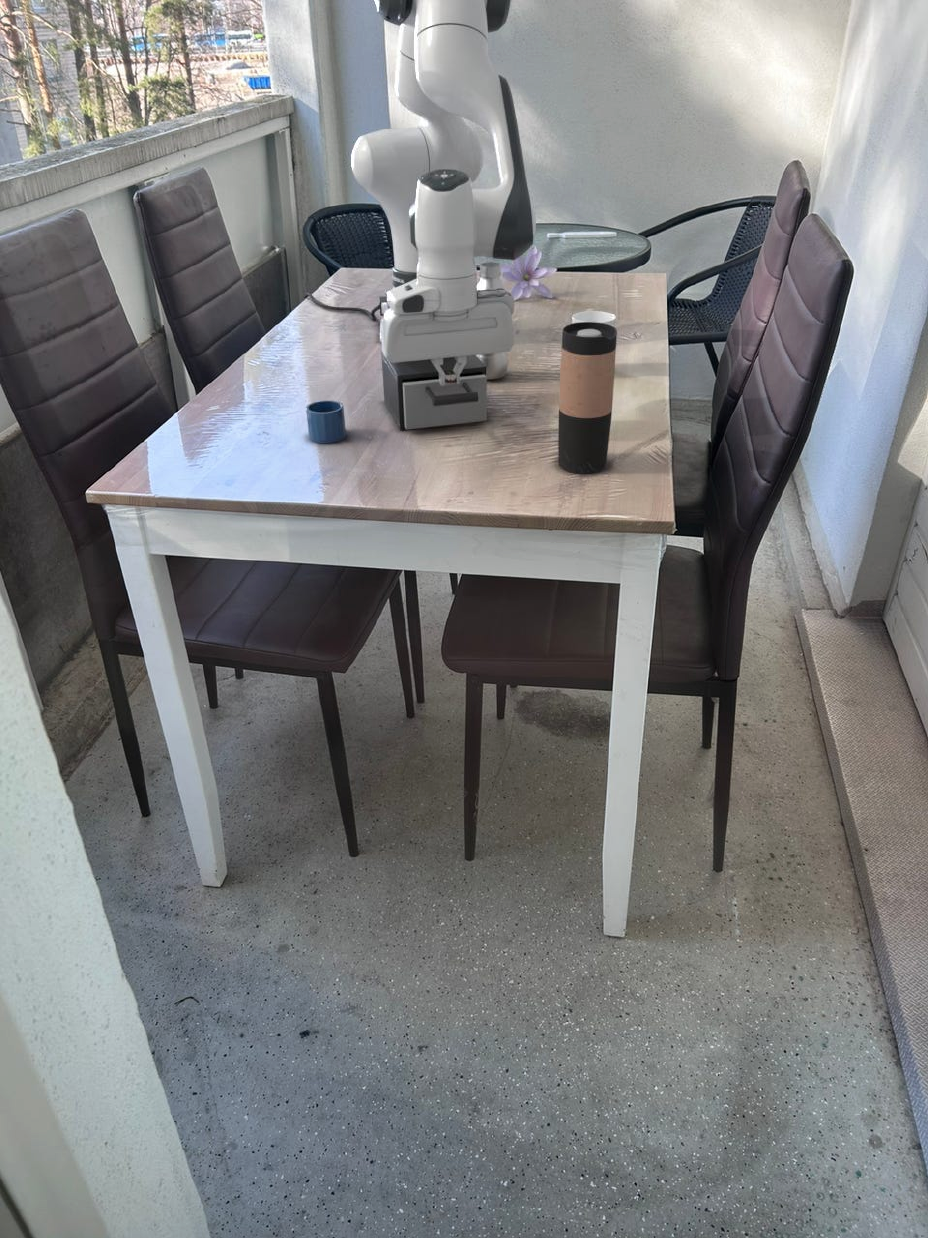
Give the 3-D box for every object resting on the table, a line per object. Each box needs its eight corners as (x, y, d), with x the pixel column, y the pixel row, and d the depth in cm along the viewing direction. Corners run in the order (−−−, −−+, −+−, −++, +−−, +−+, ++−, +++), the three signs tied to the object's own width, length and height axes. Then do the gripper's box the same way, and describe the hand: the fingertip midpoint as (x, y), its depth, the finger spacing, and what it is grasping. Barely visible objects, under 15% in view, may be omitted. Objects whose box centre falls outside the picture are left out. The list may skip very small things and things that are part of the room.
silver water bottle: (512, 373, 177) (513, 261, 166) (501, 384, 172) (502, 269, 161) (479, 370, 179) (478, 259, 168) (467, 381, 174) (466, 267, 163)
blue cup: (307, 432, 154) (304, 402, 151) (342, 428, 155) (340, 398, 152) (311, 445, 149) (308, 415, 147) (348, 441, 150) (345, 411, 148)
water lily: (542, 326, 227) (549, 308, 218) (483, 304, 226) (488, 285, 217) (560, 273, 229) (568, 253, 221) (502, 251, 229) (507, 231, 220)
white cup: (610, 378, 174) (614, 323, 168) (567, 376, 175) (570, 321, 170) (613, 365, 180) (617, 311, 175) (572, 363, 182) (574, 309, 176)
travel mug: (552, 455, 145) (557, 322, 134) (602, 452, 145) (611, 320, 134) (561, 476, 138) (567, 338, 127) (612, 473, 139) (623, 336, 128)
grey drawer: (498, 435, 149) (498, 390, 145) (415, 444, 147) (413, 399, 143) (466, 395, 165) (466, 353, 161) (391, 403, 162) (388, 361, 158)
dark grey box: (486, 420, 157) (486, 366, 152) (400, 430, 154) (397, 375, 149) (465, 393, 168) (464, 342, 163) (384, 402, 165) (381, 350, 160)
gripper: (508, 282, 145) (507, 371, 152) (376, 293, 141) (382, 384, 148) (520, 291, 140) (519, 383, 147) (384, 303, 135) (389, 397, 143)
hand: (449, 384), depth 148 cm, fingers closed
